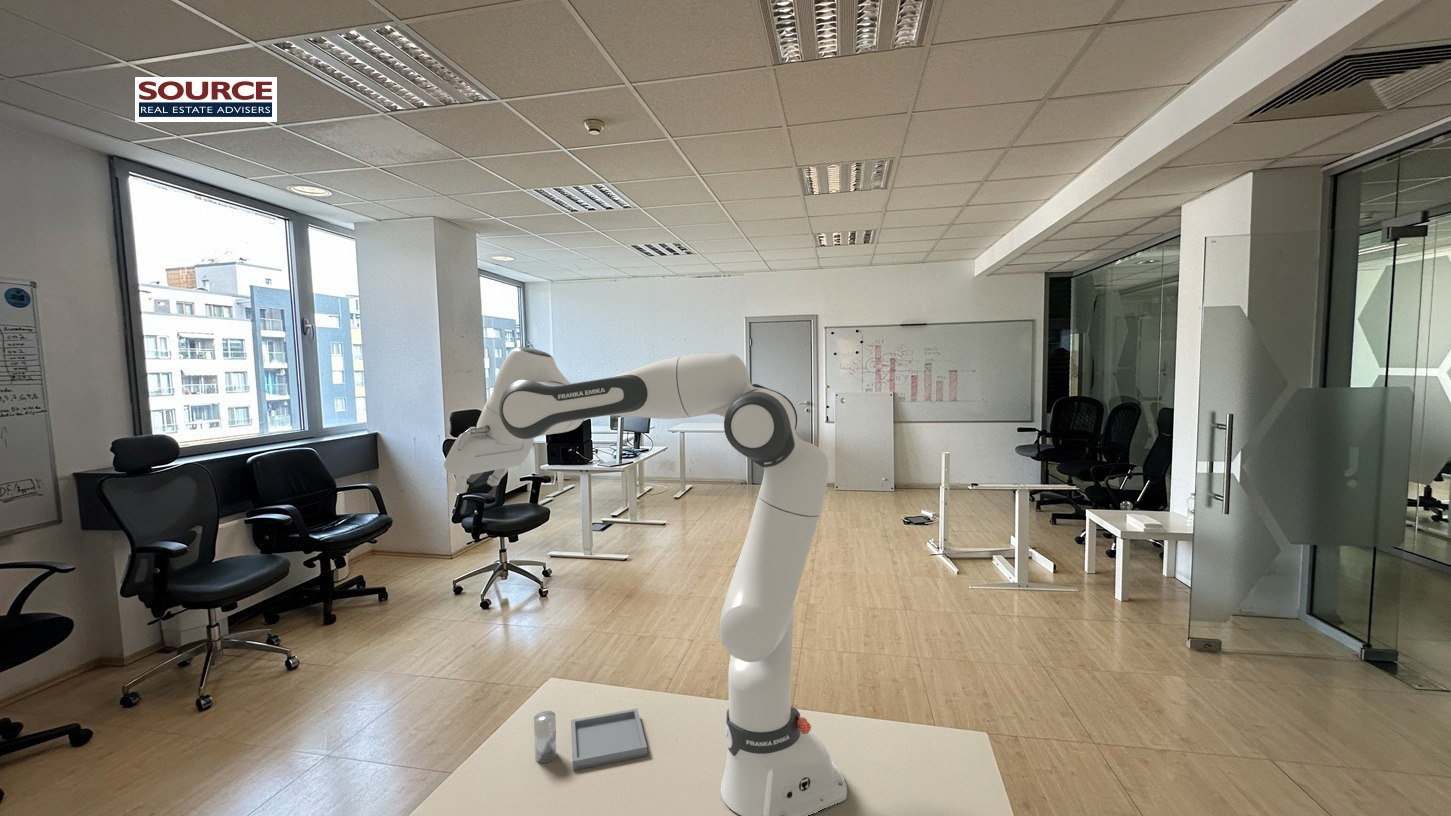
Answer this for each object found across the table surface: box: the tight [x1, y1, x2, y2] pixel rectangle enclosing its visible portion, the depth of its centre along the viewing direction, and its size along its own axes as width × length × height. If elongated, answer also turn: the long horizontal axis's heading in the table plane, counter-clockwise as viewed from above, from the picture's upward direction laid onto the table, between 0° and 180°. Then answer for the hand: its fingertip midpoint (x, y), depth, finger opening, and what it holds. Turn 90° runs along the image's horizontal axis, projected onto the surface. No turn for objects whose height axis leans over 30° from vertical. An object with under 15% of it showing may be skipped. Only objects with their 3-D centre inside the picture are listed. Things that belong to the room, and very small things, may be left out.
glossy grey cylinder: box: [533, 710, 557, 764], centre depth 112 cm, size 4×4×8 cm
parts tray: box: [570, 708, 648, 771], centre depth 117 cm, size 14×14×2 cm
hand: (476, 488), depth 112 cm, fingers open, 8 cm apart
